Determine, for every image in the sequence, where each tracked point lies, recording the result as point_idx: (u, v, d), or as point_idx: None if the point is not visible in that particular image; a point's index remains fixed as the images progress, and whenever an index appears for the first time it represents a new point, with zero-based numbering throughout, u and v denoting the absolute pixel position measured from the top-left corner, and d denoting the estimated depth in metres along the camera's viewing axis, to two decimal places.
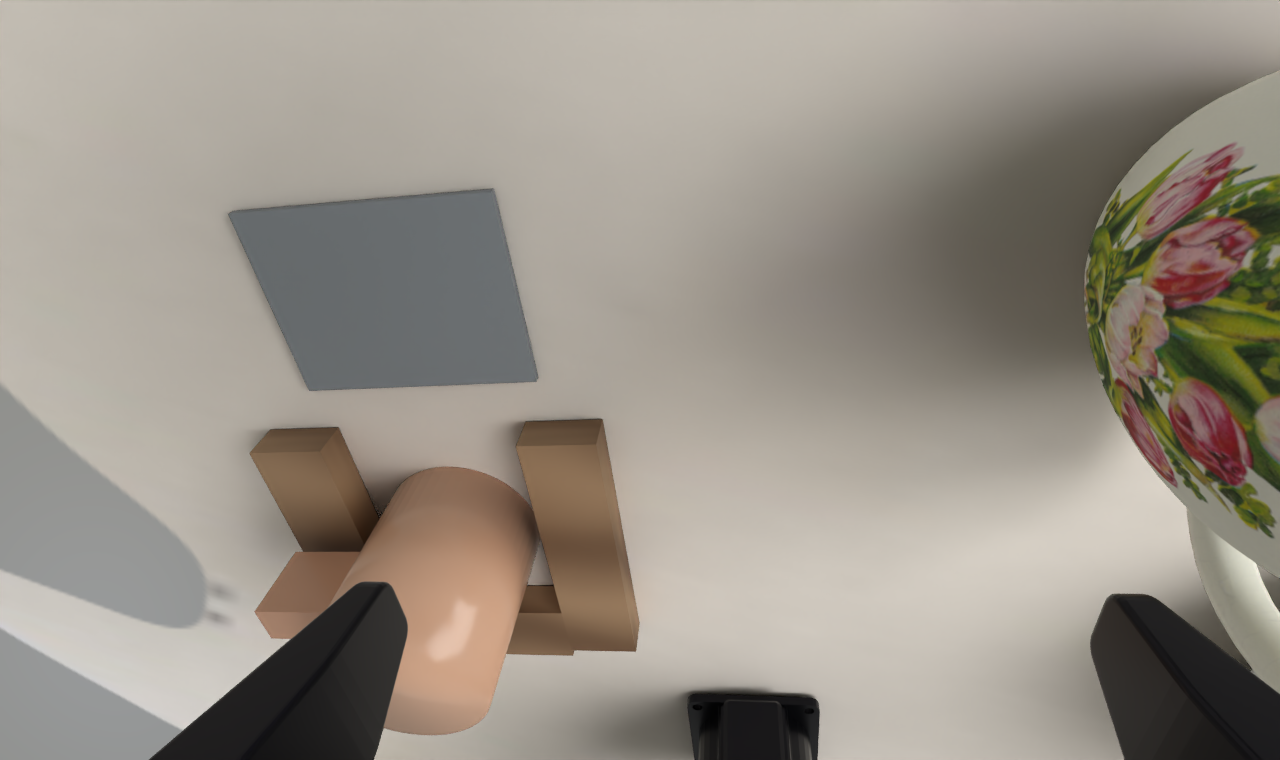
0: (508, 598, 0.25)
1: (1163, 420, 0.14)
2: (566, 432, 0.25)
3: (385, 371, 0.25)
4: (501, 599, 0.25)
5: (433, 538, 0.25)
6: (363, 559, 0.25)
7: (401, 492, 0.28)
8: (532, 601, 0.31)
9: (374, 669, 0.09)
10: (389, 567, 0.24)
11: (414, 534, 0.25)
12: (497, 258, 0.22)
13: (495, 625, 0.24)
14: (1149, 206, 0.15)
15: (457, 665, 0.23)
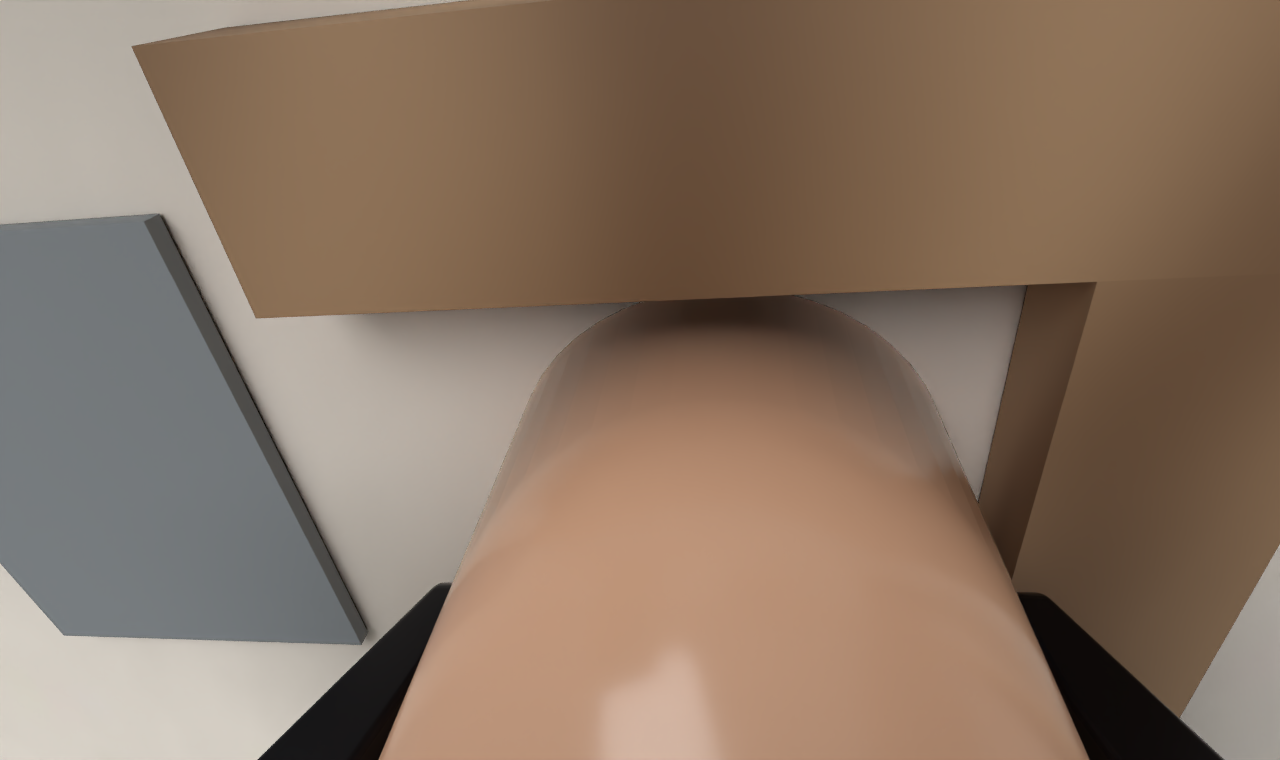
0: (638, 532, 0.06)
1: None
2: None
3: (262, 524, 0.12)
4: (594, 566, 0.05)
5: None
6: None
7: None
8: (1042, 371, 0.08)
9: None
10: None
11: None
12: None
13: (582, 690, 0.04)
14: None
15: None
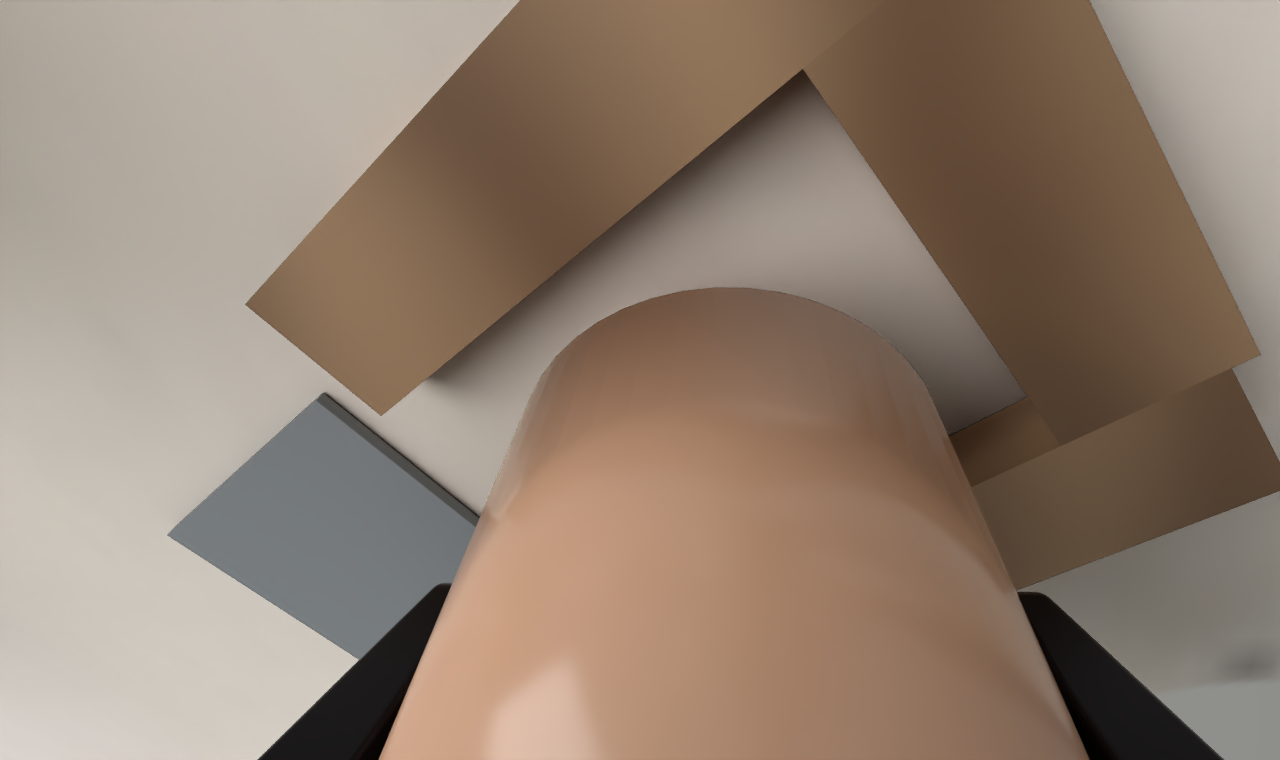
0: (638, 531, 0.06)
1: None
2: None
3: None
4: (593, 565, 0.05)
5: None
6: None
7: None
8: None
9: None
10: None
11: None
12: (219, 506, 0.17)
13: (580, 690, 0.04)
14: None
15: None
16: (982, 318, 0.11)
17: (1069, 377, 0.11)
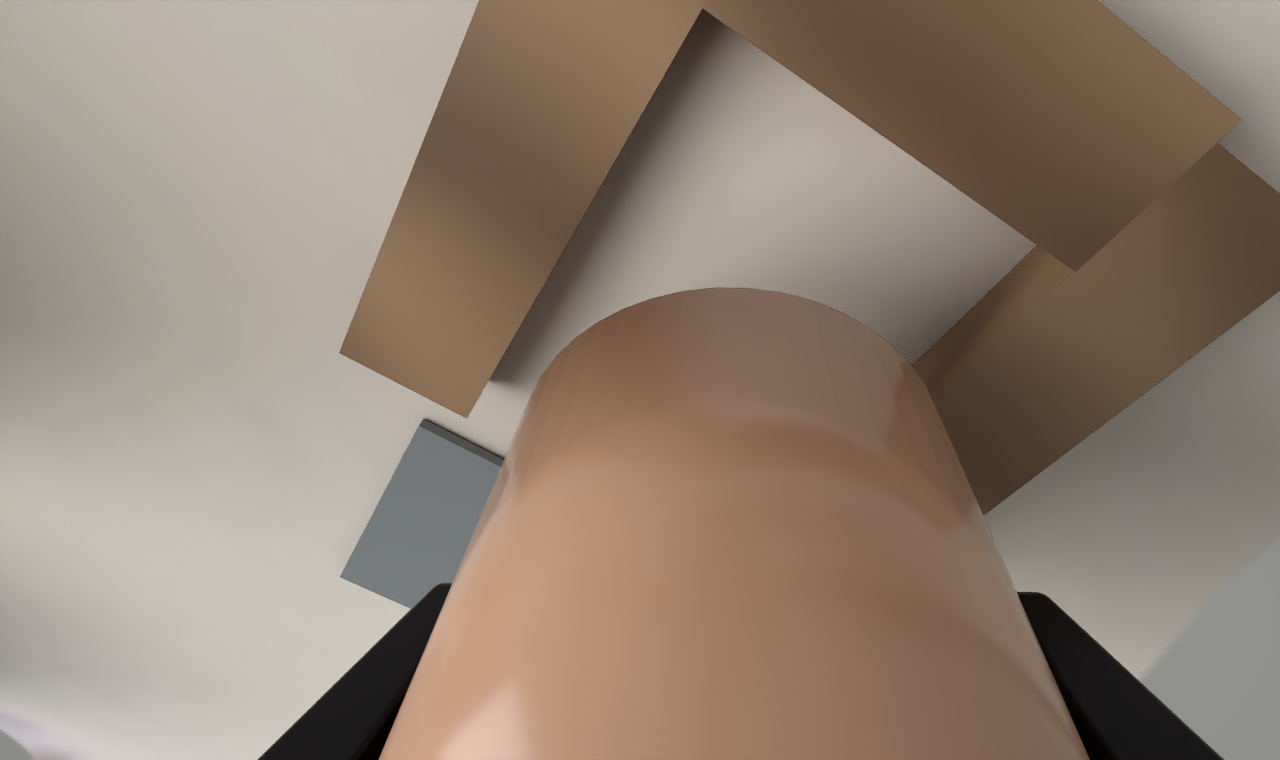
0: (640, 532, 0.06)
1: None
2: None
3: None
4: (594, 567, 0.05)
5: None
6: None
7: None
8: None
9: None
10: None
11: None
12: (372, 540, 0.20)
13: (582, 689, 0.04)
14: None
15: None
16: (946, 173, 0.11)
17: (1054, 202, 0.11)
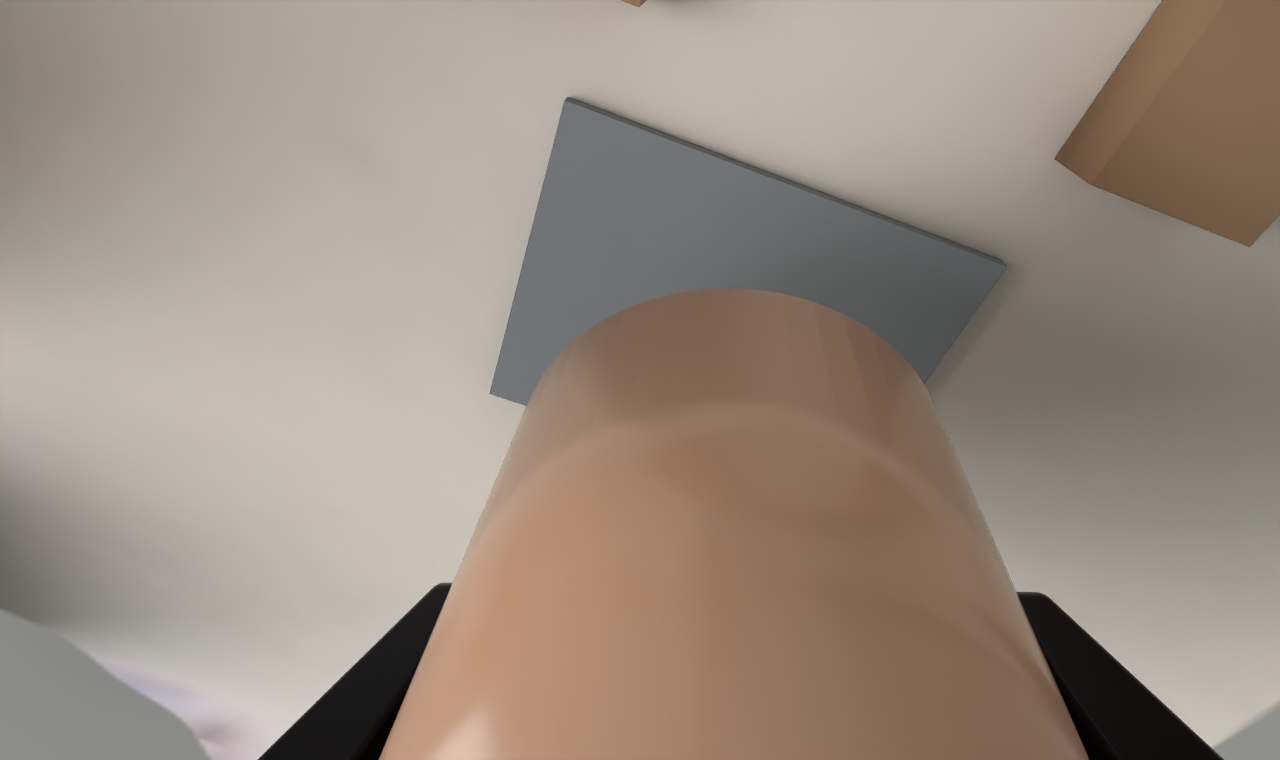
0: (638, 533, 0.06)
1: None
2: None
3: (828, 240, 0.13)
4: (595, 567, 0.05)
5: None
6: None
7: None
8: None
9: None
10: None
11: None
12: (523, 323, 0.15)
13: (582, 692, 0.04)
14: None
15: None
16: None
17: None
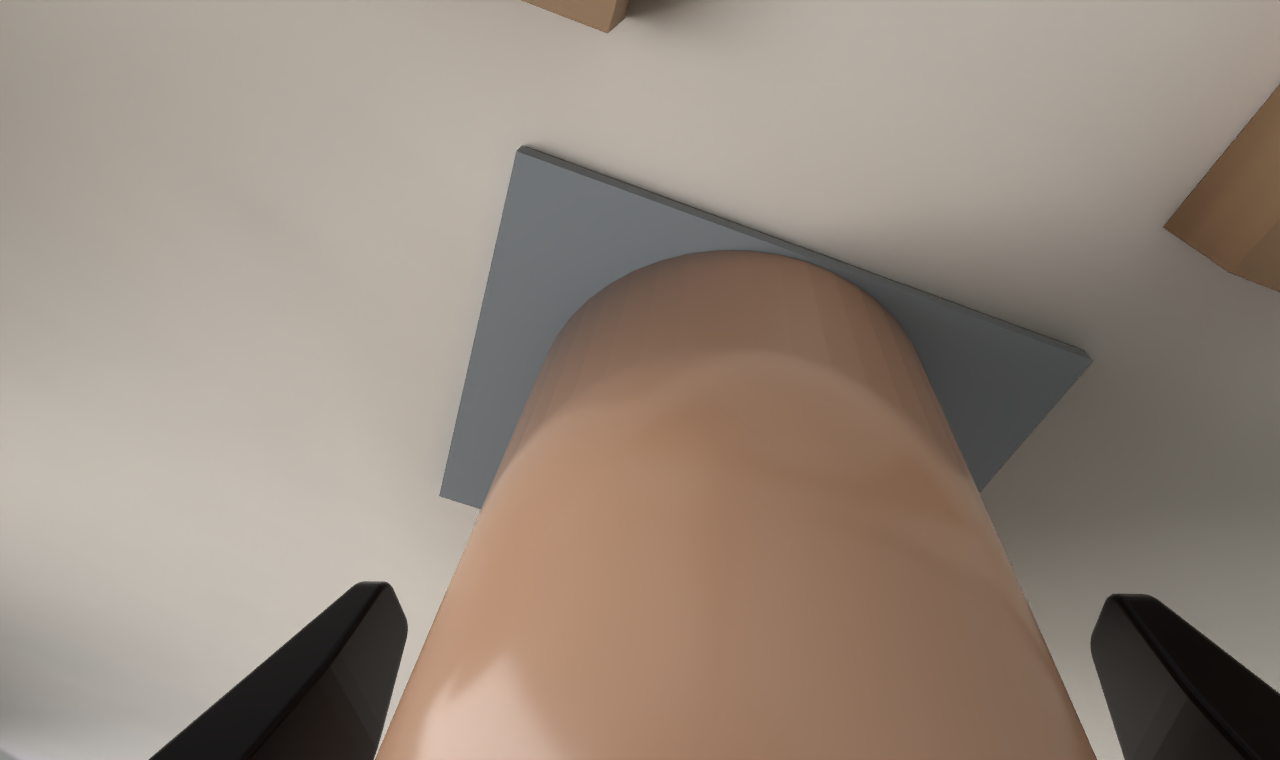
0: (651, 443, 0.06)
1: None
2: None
3: None
4: (613, 471, 0.06)
5: None
6: None
7: None
8: None
9: (374, 669, 0.09)
10: None
11: None
12: (476, 417, 0.12)
13: (605, 560, 0.05)
14: None
15: None
16: None
17: None
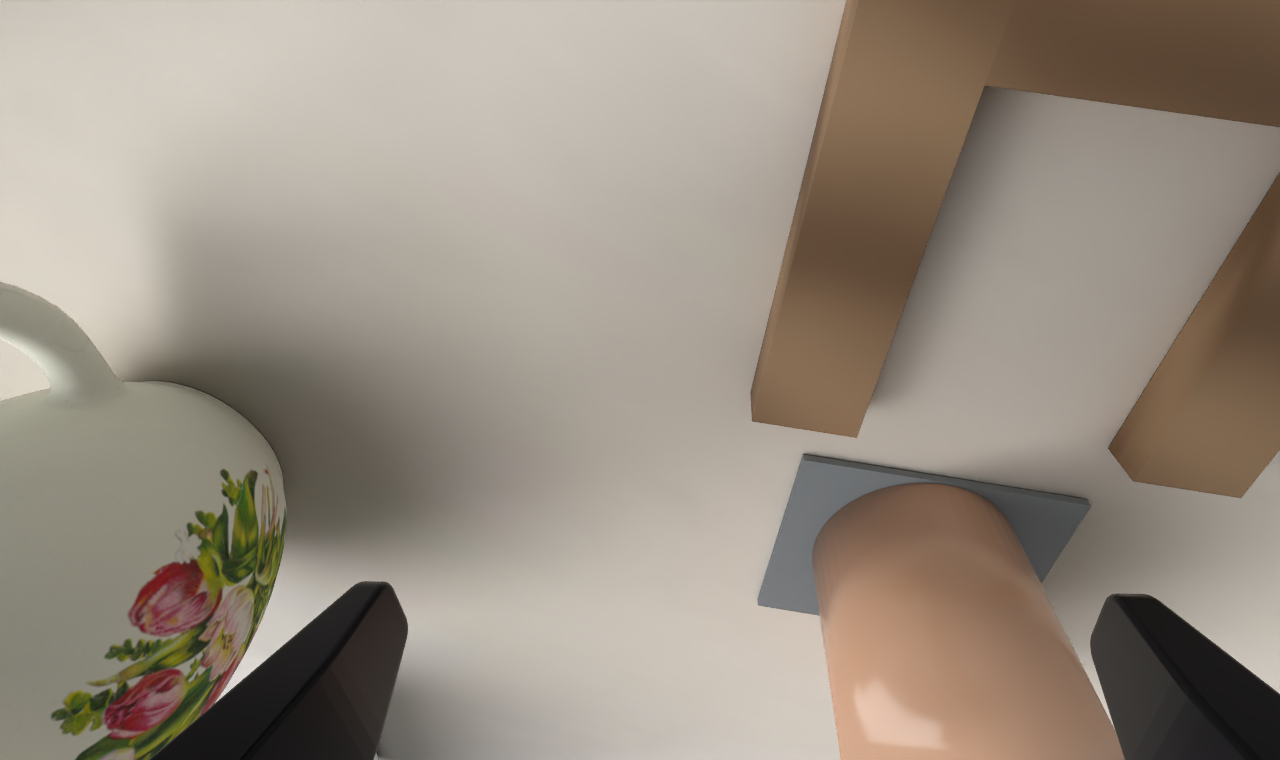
0: (914, 598, 0.18)
1: (177, 657, 0.17)
2: None
3: None
4: (904, 611, 0.18)
5: (826, 648, 0.20)
6: None
7: None
8: None
9: (374, 669, 0.09)
10: None
11: None
12: (780, 566, 0.24)
13: (917, 644, 0.17)
14: (260, 621, 0.22)
15: (928, 730, 0.16)
16: (1216, 112, 0.14)
17: None
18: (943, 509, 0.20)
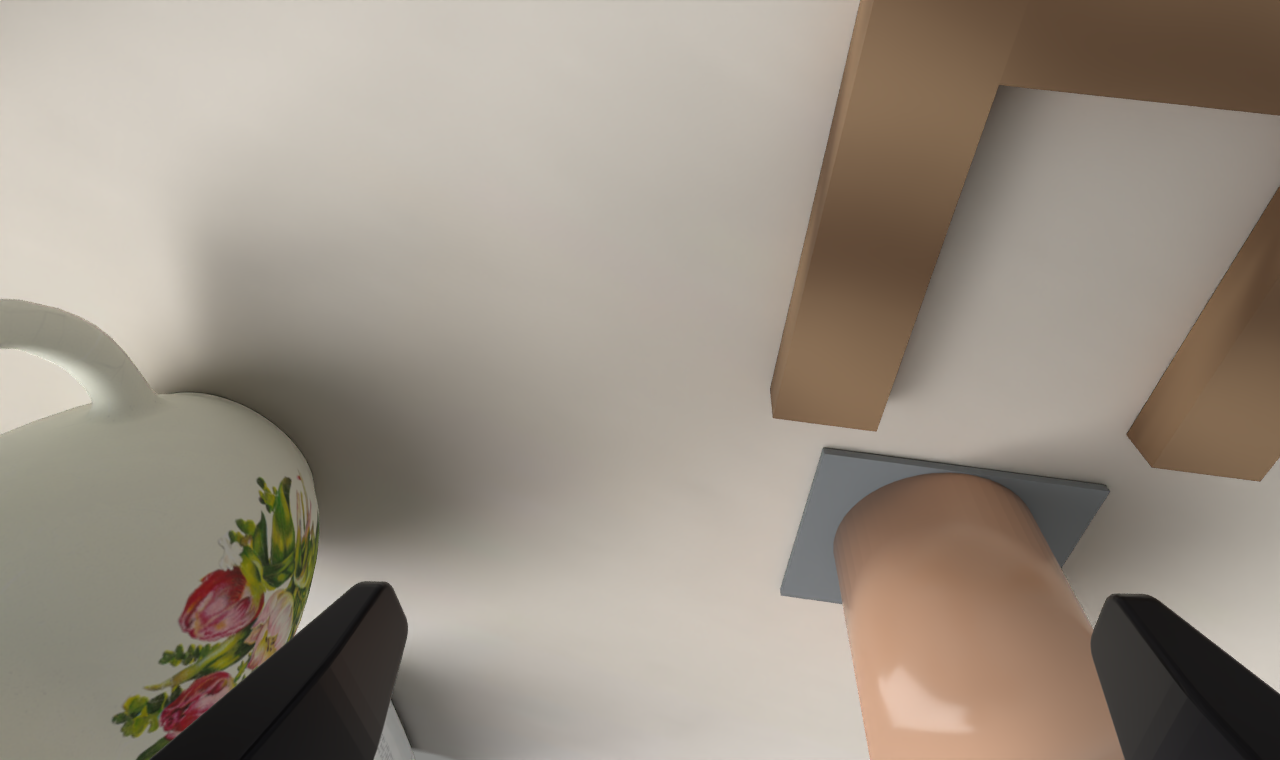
0: (937, 586, 0.18)
1: (225, 661, 0.18)
2: None
3: None
4: (928, 599, 0.18)
5: (850, 636, 0.21)
6: None
7: None
8: None
9: (374, 669, 0.09)
10: None
11: None
12: (802, 557, 0.25)
13: (942, 632, 0.17)
14: None
15: (953, 715, 0.16)
16: (1230, 104, 0.14)
17: None
18: (964, 498, 0.21)
